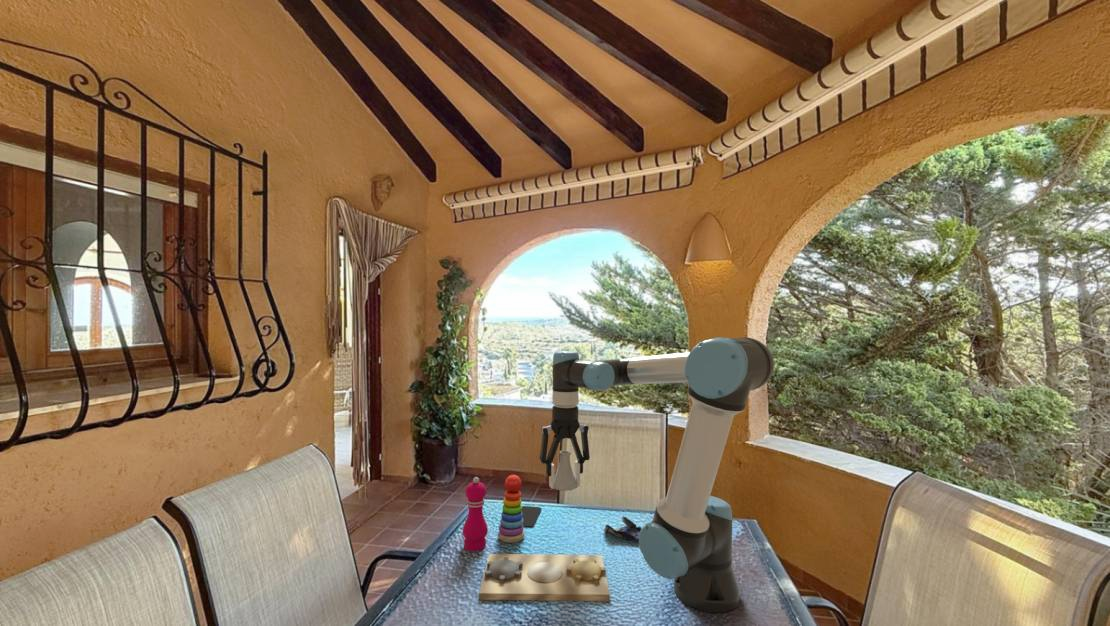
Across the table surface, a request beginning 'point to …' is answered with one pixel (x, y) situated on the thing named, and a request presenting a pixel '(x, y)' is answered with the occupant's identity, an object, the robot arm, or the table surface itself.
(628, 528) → the snack package
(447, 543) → the table surface
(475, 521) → the pepper mill
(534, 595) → the gear board
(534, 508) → the phone
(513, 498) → the stacking toy
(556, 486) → the flask
